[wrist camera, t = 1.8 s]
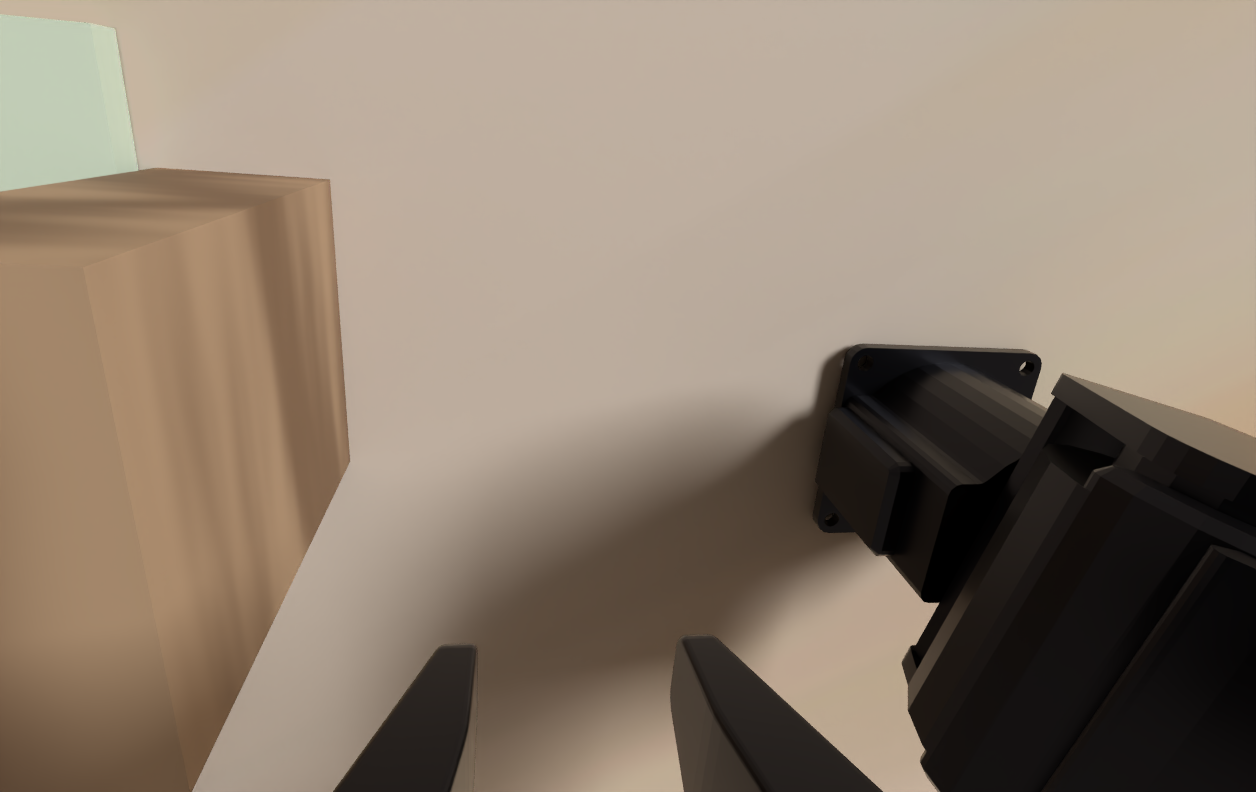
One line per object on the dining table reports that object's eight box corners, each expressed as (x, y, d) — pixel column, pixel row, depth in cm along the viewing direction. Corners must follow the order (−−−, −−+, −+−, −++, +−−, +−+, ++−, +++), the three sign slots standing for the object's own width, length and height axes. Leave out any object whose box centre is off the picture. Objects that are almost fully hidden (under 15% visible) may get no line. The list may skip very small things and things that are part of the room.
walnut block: (329, 179, 18) (82, 267, 8) (350, 461, 21) (190, 793, 11) (156, 167, 17) (-365, 246, 7) (203, 460, 20) (-118, 814, 10)
